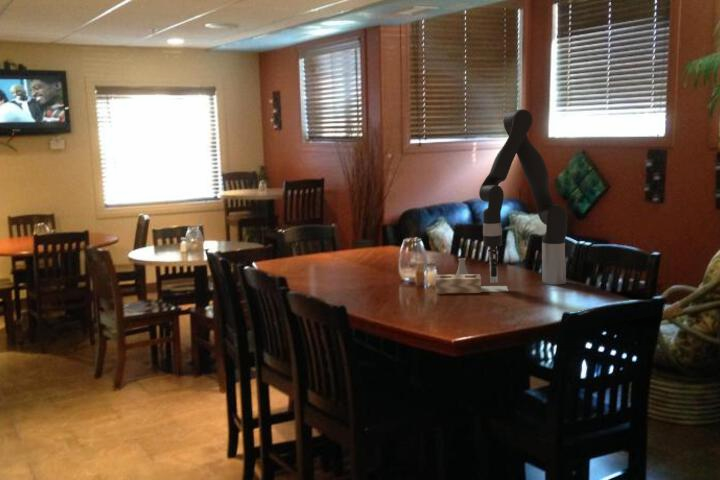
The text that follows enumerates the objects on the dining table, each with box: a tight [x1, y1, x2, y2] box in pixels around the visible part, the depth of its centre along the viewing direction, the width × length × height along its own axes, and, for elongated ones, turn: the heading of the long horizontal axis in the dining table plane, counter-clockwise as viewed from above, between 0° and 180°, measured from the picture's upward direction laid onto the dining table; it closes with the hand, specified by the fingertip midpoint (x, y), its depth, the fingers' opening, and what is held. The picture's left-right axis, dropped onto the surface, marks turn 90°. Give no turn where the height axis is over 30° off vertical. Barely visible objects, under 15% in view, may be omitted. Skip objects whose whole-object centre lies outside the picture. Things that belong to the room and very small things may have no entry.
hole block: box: [435, 273, 482, 295], centre depth 293 cm, size 18×10×6 cm, turn 83°
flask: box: [456, 257, 469, 274], centre depth 312 cm, size 7×7×10 cm
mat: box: [481, 285, 509, 293], centre depth 294 cm, size 12×10×1 cm
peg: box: [489, 262, 499, 284], centre depth 292 cm, size 3×3×10 cm
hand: (493, 275), depth 293 cm, fingers closed on peg, 3 cm apart
